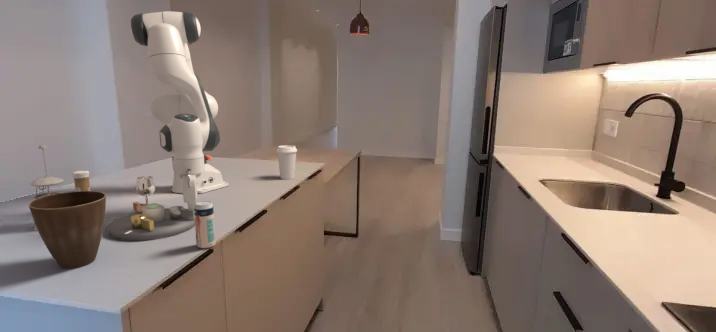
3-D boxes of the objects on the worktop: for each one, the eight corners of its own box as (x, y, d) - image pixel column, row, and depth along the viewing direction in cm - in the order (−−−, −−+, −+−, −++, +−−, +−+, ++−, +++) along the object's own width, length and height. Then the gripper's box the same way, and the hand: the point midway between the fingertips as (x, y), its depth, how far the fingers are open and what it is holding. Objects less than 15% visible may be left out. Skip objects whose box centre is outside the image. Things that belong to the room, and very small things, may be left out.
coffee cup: (302, 177, 193) (301, 146, 190) (288, 181, 185) (287, 148, 182) (286, 175, 198) (286, 144, 195) (272, 178, 190) (271, 146, 187)
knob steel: (167, 218, 125) (166, 208, 125) (175, 214, 129) (175, 204, 129) (191, 221, 123) (190, 210, 123) (199, 216, 127) (198, 207, 127)
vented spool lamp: (41, 233, 118) (29, 148, 113) (24, 226, 124) (12, 144, 119) (79, 224, 126) (69, 144, 121) (61, 217, 132) (51, 140, 127)
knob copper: (153, 214, 129) (152, 204, 128) (140, 217, 126) (139, 207, 125) (142, 209, 134) (141, 199, 134) (129, 211, 131) (128, 202, 131)
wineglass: (138, 215, 135) (134, 180, 133) (138, 210, 140) (135, 176, 138) (157, 213, 138) (154, 178, 135) (157, 208, 143) (154, 175, 140)
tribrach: (173, 209, 142) (172, 190, 141) (211, 225, 127) (210, 204, 125) (95, 227, 124) (93, 205, 122) (129, 247, 109) (126, 223, 107)
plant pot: (91, 275, 93) (83, 207, 90) (22, 277, 92) (11, 208, 89) (123, 249, 107) (117, 190, 104) (64, 250, 106) (56, 191, 103)
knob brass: (128, 226, 118) (127, 216, 117) (142, 222, 121) (141, 212, 121) (145, 232, 113) (144, 221, 113) (158, 228, 117) (157, 217, 116)
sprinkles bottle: (93, 210, 140) (88, 172, 137) (77, 212, 137) (72, 173, 135) (93, 207, 143) (88, 169, 141) (77, 209, 141) (72, 171, 138)
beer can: (199, 242, 113) (196, 200, 110) (217, 242, 113) (215, 200, 111) (194, 249, 108) (191, 205, 106) (212, 249, 108) (210, 205, 106)
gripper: (199, 172, 120) (202, 217, 123) (200, 160, 139) (202, 199, 141) (176, 173, 118) (179, 219, 121) (180, 161, 137) (183, 201, 139)
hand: (192, 208), depth 131 cm, fingers open, 7 cm apart
